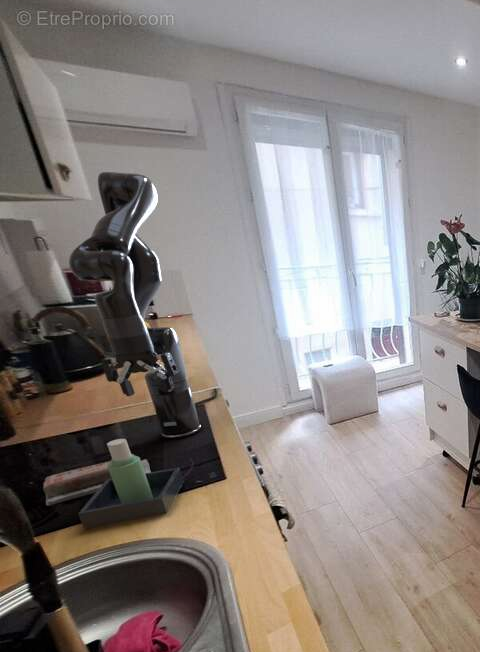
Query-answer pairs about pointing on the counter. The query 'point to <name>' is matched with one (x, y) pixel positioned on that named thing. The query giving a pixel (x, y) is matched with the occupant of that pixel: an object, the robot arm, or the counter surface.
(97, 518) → the tray
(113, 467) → the bottle
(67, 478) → the packaged product
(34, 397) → the counter surface
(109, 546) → the counter surface
